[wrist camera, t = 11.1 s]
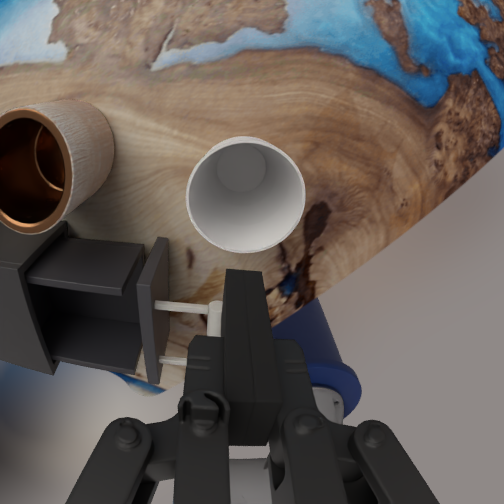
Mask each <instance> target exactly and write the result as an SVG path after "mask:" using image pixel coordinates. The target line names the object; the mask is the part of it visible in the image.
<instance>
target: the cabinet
mask: <svg viewBox="0 0 504 504" xmlns="http://www.w3.org/2000/svg"><path fill="white" fill-rule="evenodd" d="M58 237H65V238H68V231H67V223H66V221H60V222H59V223H57V224H56V225H55V226H54V227H52V228H51V229H49V230H48V231H46V232H43V233H40V234H34V235H28V234H22V233H18V232H16V231H14V230H12V229H10V228H8V227H7V226H6V225H4V224H3V223H2V222H1V221H0V360H3V361H6V362H9V363H12V364H15V365H18V366H22V367H25V368H28V369H32V370H35V371H39V372H42V373H46V374H50V375H54V373H55V371H56V369H57V367H58V365H59V362H60V361H57V360H53V359H51V356H50V354H49V351H48V349H47V346H46V343H45V341H44V338H43V335H42V332H41V329H40V326H39V323H38V320H37V317H36V314H35V311H34V308H33V304H32V301H31V298H30V294H29V291H28V287H27V283H26V279H25V275H24V272H25V271H26V270H27V269H28V268H29V267H30V266H31V265H32V264H33V263H34V261H35V260H36V259H37V258H38V257H39V256H40V255H41V254H42V253H43V252H44V251H45V250H46V249H47V248H48V247H49V246H50V245H51V244H52V243H53V242H54V241H55V240H56V239H57V238H58Z"/></svg>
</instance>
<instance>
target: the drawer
mask: <svg viewBox="0 0 504 504" xmlns="http://www.w3.org/2000/svg"><path fill="white" fill-rule="evenodd" d="M168 244H169V239H168V238H164V237H157V240H156V242H155V244H154V246H153V248H152V250H151V253H150V255H149V257H148V259H147V261H146V264H145V265H144V244H135V243H123V242H112V241H100V240H88V239H77V238H65V237H58V238H57V239H56V240H55V241H54V242H53V243H52V244H51V245H50V246H49V247H48V248H47V249H46V250H45V251H44V252H43V253H42V254H41V255H40V256H39V257H38V258H37V259H36V260H35V261H34V263H33V264H32V265H31V266H30V267H29V268H28V269H27V270H26V271H25V272H24V275H25V279H26V283H27V287H28V291H29V294H30V298H31V301H32V304H33V308H34V311H35V314H36V317H37V320H38V323H39V326H40V329H41V332H42V335H43V338H44V341H45V343H46V346H47V349H48V351H49V354H50V356H51V359H53V360H57V361H62V362H66V363H71V364H76V365H80V366H86V367H90V368H96V369H101V370H106V371H112V372H118V373H125V374H131V375H135V372H136V368H137V364H138V361H139V357H140V353H141V350H142V346H143V351H144V358H145V365H146V372H147V378H148V383H150V384H158V385H159V383H160V377H161V372H162V367H163V363H164V364H173V365H183V366H186V364H187V358H179V357H170V356H165V351H166V346H167V341H168V336H169V331H170V323H169V311H178V312H189V313H200V314H208V322H207V336H216V337H221V313H222V304H223V302H222V301H212V302H210V303H209V306H208V305H201V304H189V303H178V302H169V282H168Z"/></svg>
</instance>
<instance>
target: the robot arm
mask: <svg viewBox="0 0 504 504" xmlns="http://www.w3.org/2000/svg"><path fill="white" fill-rule="evenodd" d="M343 413H344V405H343V400H342V397H341V394H340V392H339V391H338V390H337V389H336V388H334V387H332V386H329V385H325V384H318V383H311V381H310V377H309V373H308V369H307V365H306V363H305V357H304V353H303V350H302V348H301V347H300V346H299V345H298V343H297V342H296V341H295V340H288V339H273V336H272V330H271V324H270V318H269V312H268V306H267V300H266V294H265V288H264V282H263V276H262V272H259V271H247V270H235V269H226V276H225V285H224V294H223V304H222V313H221V337H216V336H203V335H196V336H195V337H194V338H193V340H192V341H191V342H190V344H189V347H188V356H187V364H186V373H185V382H184V392H183V396H182V397H181V398H180V401H179V404H178V413H177V414H176V415H175V416H174V417H172V418H170V419H168V420H166V421H162V422H157V423H151V424H145V423H143V422H141V421H140V420H138V419H135V418H130V417H125V418H118V419H116V420H114V421H113V422H111V423H110V424H109V425H108V426H107V428H106V429H105V430H104V433H103V434H102V436H101V438H100V440H99V442H98V443H97V445H96V447H95V449H94V451H93V452H92V454H91V456H90V458H89V460H88V461H87V464H86V465H85V467H84V469H83V471H82V473H81V475H80V476H79V479H78V480H77V482H76V484H75V486H74V488H73V490H72V492H71V494H70V495H69V498H68V499H67V502H66V503H65V504H151V502H152V499H153V496H154V494H155V491H156V489H157V486H158V484H159V481H163V480H168V479H173V478H175V480H174V497H173V504H440V503H439V502H438V501H437V499H436V498H435V496H434V494H433V493H432V491H431V490H430V488H429V487H428V485H427V483H426V482H425V480H424V479H423V477H422V476H421V474H420V473H419V471H418V470H417V468H416V467H415V465H414V464H413V462H412V461H411V459H410V458H409V456H408V455H407V453H406V451H405V450H404V449H403V447H402V445H401V444H400V443H399V441H398V440H397V438H396V437H395V435H394V433H393V432H392V430H391V429H390V428H389V427H388V426H387V425H386V424H384V423H382V422H380V421H376V420H368V421H364V422H362V423H361V424H359V425H358V426H357V427H353V426H348V425H343ZM267 442H269V446H270V453H269V455H268V457H267V458H258V459H229V446H266V445H267Z"/></svg>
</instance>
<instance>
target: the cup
mask: <svg viewBox="0 0 504 504" xmlns="http://www.w3.org/2000/svg"><path fill="white" fill-rule="evenodd" d="M186 206H187V211H188V214H189V217H190V219H191V221H192V223H193V225H194V227H195V228H196V230H197V231H198V232H199V233H200V234H201V235H202V236H203V237H204V238H205V239H206V240H207V241H209V242H210V243H211V244H213V245H215V246H217V247H219V248H221V249H224V250H227V251H231V252H236V253H253V252H259V251H263V250H266V249H268V248H271V247H273V246H275V245H277V244H278V243H280V242H281V241H283V240H284V239H285V238H286V237H287V236H288V235H289V234H290V233H291V232H292V231H293V230H294V228H295V227H296V226H297V224H298V222H299V220H300V218H301V216H302V213H303V210H304V206H305V185H304V181H303V178H302V175H301V173H300V171H299V169H298V167H297V166H296V164H295V163H294V162H293V160H292V159H291V158H290V157H289V156H288V155H287V154H285V153H284V152H283V151H282V150H280V149H278V148H277V147H275V146H273V145H272V144H270V143H268V142H266V141H264V140H262V139H259V138H255V137H248V136H240V137H233V138H229V139H227V140H224V141H222V142H220V143H218V144H217V145H215V146H214V147H213V148H211V149H210V150H209V151H208V152H207V153H206V155H205V156H204V157H203V158H202V159H201V160H200V161H199V162H198V164H197V165H196V166H195V168H194V169H193V171H192V173H191V175H190V178H189V181H188V184H187V189H186Z"/></svg>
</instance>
